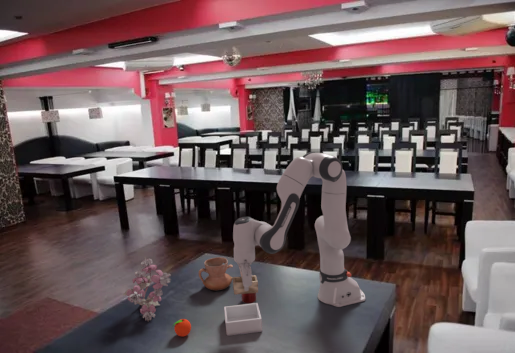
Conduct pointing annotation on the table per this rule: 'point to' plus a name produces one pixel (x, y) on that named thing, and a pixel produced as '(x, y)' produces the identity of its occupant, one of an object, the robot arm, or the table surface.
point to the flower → (138, 290)
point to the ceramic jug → (216, 273)
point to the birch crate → (239, 286)
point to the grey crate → (243, 319)
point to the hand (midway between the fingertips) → (245, 286)
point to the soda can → (249, 298)
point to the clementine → (182, 327)
